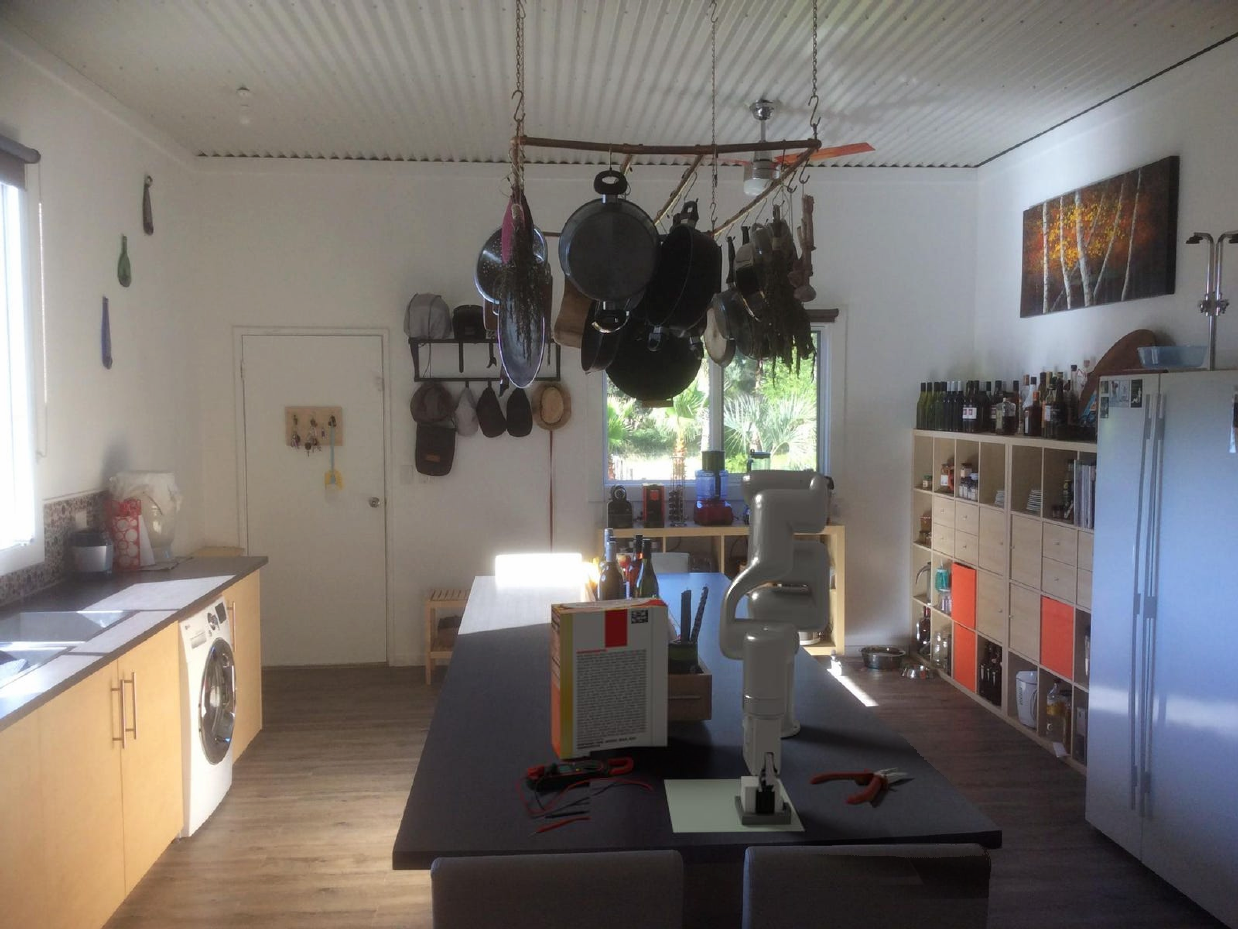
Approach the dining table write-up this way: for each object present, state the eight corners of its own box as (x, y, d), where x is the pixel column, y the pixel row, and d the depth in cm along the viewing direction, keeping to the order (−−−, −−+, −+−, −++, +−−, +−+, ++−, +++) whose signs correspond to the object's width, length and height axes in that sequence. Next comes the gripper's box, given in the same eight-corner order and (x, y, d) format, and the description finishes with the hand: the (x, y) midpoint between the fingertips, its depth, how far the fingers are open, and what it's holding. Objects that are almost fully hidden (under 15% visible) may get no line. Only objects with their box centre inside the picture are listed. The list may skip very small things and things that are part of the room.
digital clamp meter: (506, 757, 171) (630, 743, 178) (506, 780, 171) (630, 765, 178) (528, 812, 149) (669, 793, 156) (529, 838, 149) (669, 818, 156)
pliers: (928, 788, 168) (928, 775, 168) (850, 814, 158) (850, 799, 158) (882, 766, 178) (882, 754, 178) (806, 789, 168) (806, 776, 168)
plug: (740, 809, 156) (741, 776, 156) (779, 809, 156) (779, 776, 156) (744, 820, 152) (745, 786, 152) (784, 820, 152) (784, 786, 152)
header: (734, 804, 158) (734, 796, 158) (784, 803, 158) (785, 795, 158) (741, 825, 151) (741, 816, 150) (794, 824, 151) (794, 816, 151)
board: (663, 785, 168) (663, 776, 168) (779, 783, 169) (779, 775, 169) (673, 838, 148) (673, 828, 148) (804, 836, 149) (804, 827, 149)
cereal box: (654, 732, 194) (655, 597, 191) (667, 746, 186) (668, 605, 184) (551, 744, 187) (551, 604, 185) (560, 759, 179) (560, 613, 177)
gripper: (734, 687, 161) (733, 785, 162) (751, 721, 144) (749, 830, 146) (775, 687, 161) (773, 785, 163) (796, 721, 145) (794, 829, 146)
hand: (762, 805), depth 154 cm, fingers closed on plug, 4 cm apart
